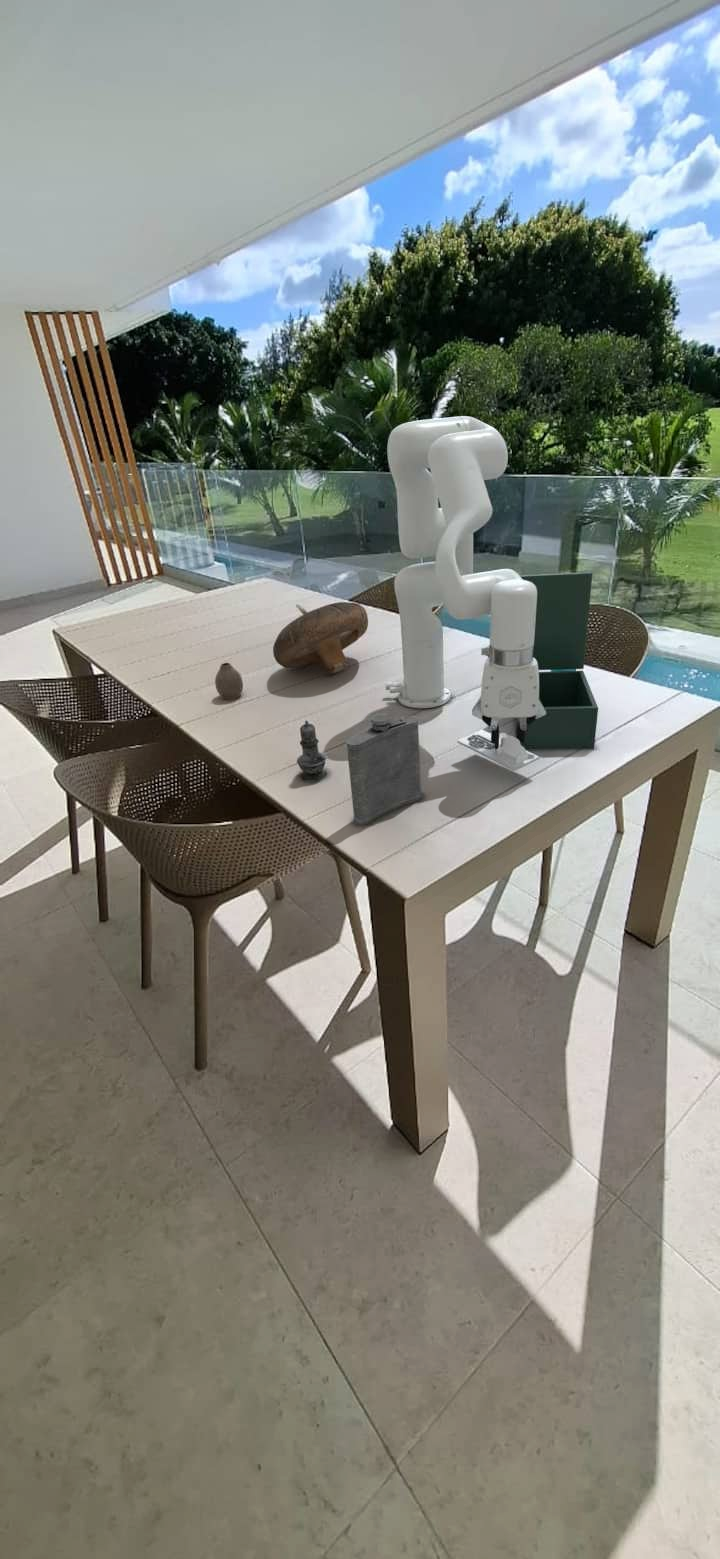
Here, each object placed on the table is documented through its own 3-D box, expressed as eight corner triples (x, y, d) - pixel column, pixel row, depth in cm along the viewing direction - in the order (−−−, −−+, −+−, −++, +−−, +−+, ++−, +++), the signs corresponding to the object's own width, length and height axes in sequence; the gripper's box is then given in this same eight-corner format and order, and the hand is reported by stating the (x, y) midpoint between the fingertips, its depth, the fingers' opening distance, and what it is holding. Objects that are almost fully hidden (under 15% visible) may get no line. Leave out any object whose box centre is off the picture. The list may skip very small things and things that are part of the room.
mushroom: (324, 648, 202) (353, 574, 188) (365, 694, 190) (399, 618, 176) (243, 648, 185) (267, 566, 171) (282, 699, 173) (312, 615, 158)
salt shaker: (298, 769, 136) (291, 715, 130) (327, 766, 136) (321, 712, 130) (298, 783, 131) (290, 728, 125) (328, 780, 131) (322, 725, 125)
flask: (348, 818, 119) (338, 726, 110) (411, 790, 125) (407, 701, 116) (360, 827, 116) (351, 733, 107) (424, 797, 123) (420, 707, 114)
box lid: (592, 572, 134) (588, 566, 139) (519, 576, 137) (517, 569, 141) (583, 669, 145) (580, 660, 150) (516, 671, 147) (514, 661, 152)
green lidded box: (594, 748, 133) (598, 707, 129) (520, 749, 135) (522, 709, 131) (579, 707, 150) (583, 670, 146) (514, 709, 152) (515, 672, 148)
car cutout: (539, 758, 124) (541, 737, 121) (514, 771, 121) (515, 749, 118) (481, 731, 134) (482, 711, 132) (457, 742, 131) (457, 721, 129)
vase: (250, 692, 174) (244, 660, 170) (235, 703, 169) (228, 670, 165) (228, 690, 177) (222, 658, 173) (212, 700, 172) (206, 668, 167)
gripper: (463, 662, 115) (462, 755, 125) (562, 660, 113) (554, 755, 122) (463, 647, 122) (463, 736, 131) (557, 644, 119) (550, 736, 128)
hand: (507, 744), depth 126 cm, fingers closed on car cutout, 3 cm apart
